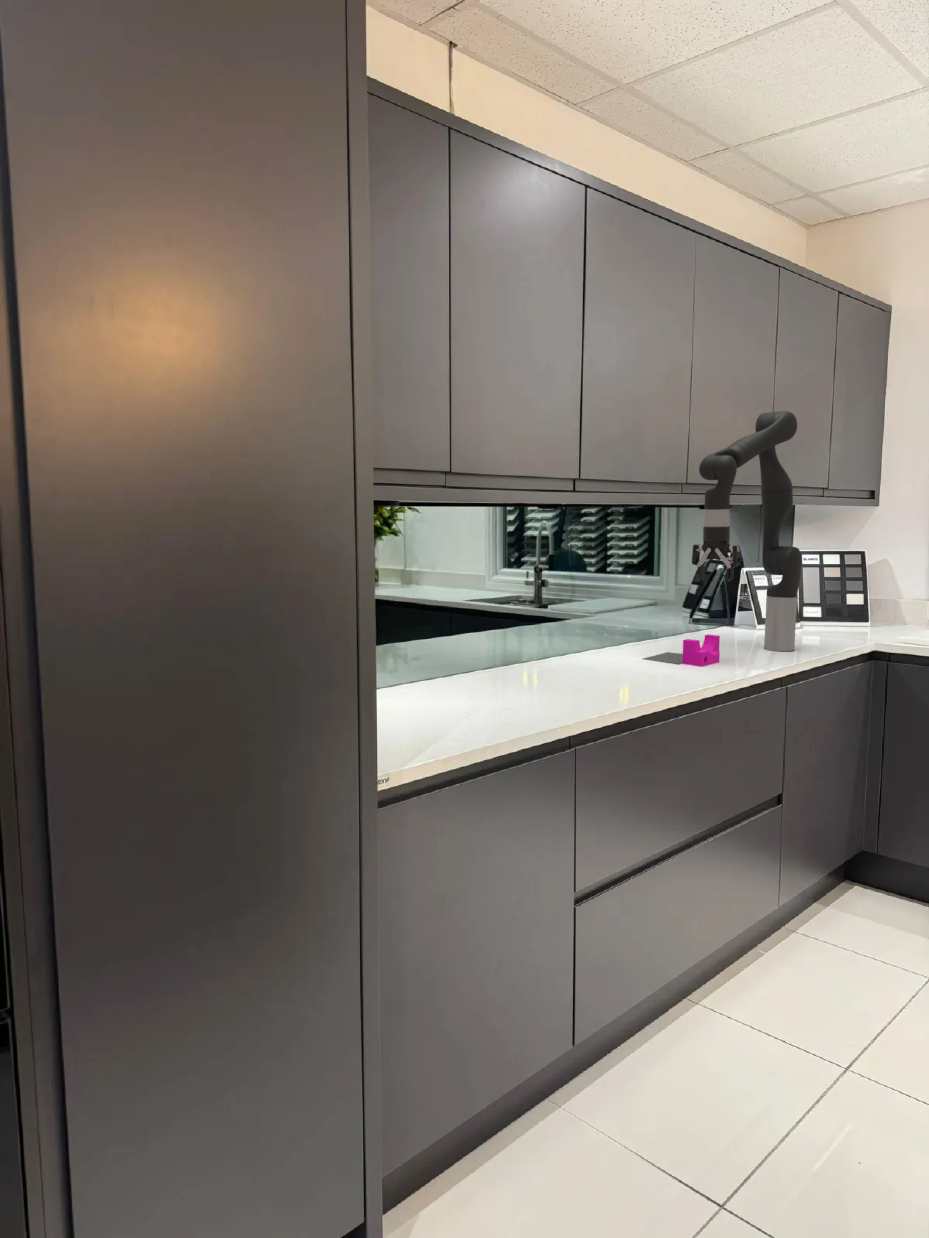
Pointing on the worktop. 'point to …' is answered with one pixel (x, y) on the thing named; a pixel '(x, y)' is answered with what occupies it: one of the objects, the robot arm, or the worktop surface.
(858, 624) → the worktop surface
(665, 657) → the rubber mat
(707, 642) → the magenta pipe clamp
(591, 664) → the worktop surface
